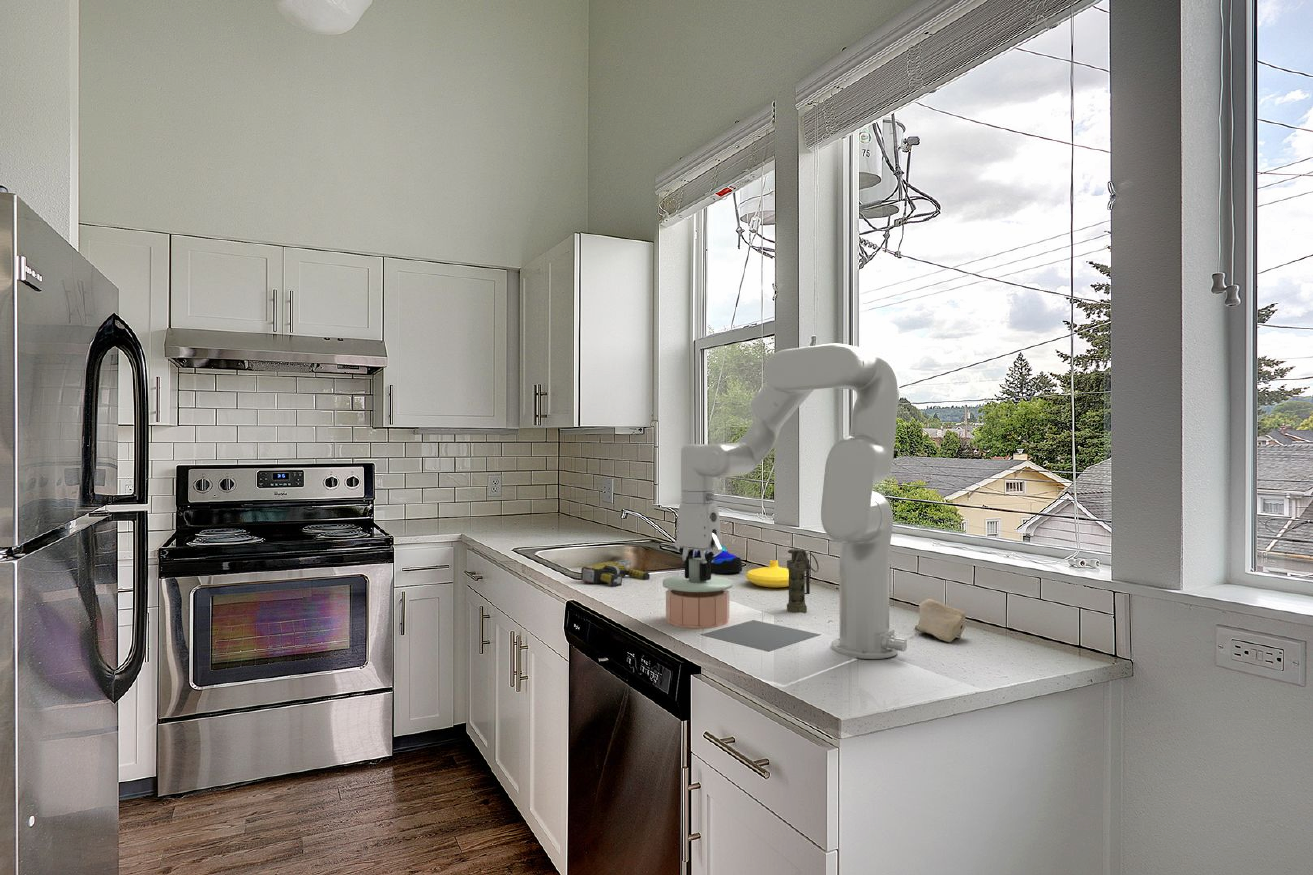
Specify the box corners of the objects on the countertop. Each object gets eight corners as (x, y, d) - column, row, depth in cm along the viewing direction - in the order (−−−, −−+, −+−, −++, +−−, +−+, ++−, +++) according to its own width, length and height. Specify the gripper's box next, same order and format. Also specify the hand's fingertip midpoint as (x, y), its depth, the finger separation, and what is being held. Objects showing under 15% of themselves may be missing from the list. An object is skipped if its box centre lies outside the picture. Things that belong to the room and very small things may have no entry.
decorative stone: (924, 627, 173) (924, 595, 173) (972, 640, 162) (972, 606, 162) (901, 631, 169) (901, 598, 169) (948, 645, 158) (948, 610, 158)
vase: (805, 582, 225) (805, 557, 225) (798, 592, 210) (798, 566, 210) (751, 579, 230) (751, 555, 230) (740, 589, 215) (740, 563, 215)
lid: (747, 584, 177) (747, 559, 177) (700, 595, 166) (700, 567, 166) (695, 575, 189) (695, 551, 189) (647, 584, 177) (647, 559, 177)
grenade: (795, 616, 182) (795, 552, 182) (779, 611, 187) (779, 549, 187) (824, 612, 187) (824, 549, 186) (808, 607, 192) (808, 546, 192)
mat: (820, 636, 164) (820, 634, 164) (768, 653, 152) (768, 651, 152) (753, 622, 177) (753, 619, 177) (700, 636, 165) (700, 634, 165)
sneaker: (723, 577, 233) (723, 527, 233) (682, 566, 253) (681, 519, 253) (748, 574, 237) (748, 525, 237) (705, 563, 258) (705, 518, 258)
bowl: (741, 622, 177) (741, 591, 177) (699, 633, 167) (699, 600, 167) (695, 612, 187) (695, 583, 187) (654, 622, 177) (654, 591, 177)
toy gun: (664, 565, 238) (621, 557, 245) (624, 574, 216) (579, 565, 223) (662, 581, 238) (620, 572, 245) (622, 591, 216) (577, 582, 223)
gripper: (736, 499, 174) (736, 581, 174) (682, 495, 186) (682, 572, 186) (714, 501, 169) (714, 586, 169) (660, 497, 181) (660, 576, 181)
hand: (697, 578), depth 177 cm, fingers closed on lid, 3 cm apart
